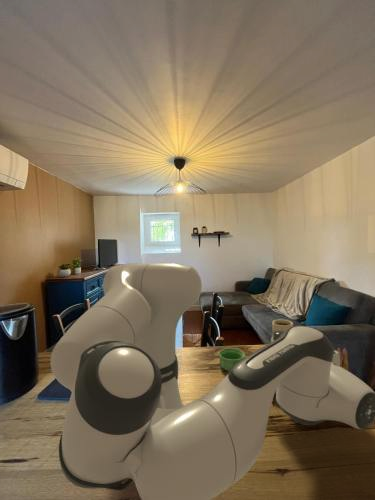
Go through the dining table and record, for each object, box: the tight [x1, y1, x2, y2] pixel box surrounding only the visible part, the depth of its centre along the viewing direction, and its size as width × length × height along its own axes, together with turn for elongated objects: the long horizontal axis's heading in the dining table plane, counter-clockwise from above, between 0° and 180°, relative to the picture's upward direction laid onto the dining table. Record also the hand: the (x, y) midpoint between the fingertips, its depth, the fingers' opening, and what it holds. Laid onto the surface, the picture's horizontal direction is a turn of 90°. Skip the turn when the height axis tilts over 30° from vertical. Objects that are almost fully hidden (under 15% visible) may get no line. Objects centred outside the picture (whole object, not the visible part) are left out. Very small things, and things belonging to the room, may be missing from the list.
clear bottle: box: [270, 331, 283, 343], centre depth 76 cm, size 5×5×11 cm
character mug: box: [271, 318, 294, 337], centre depth 93 cm, size 11×7×13 cm, turn 2°
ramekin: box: [218, 347, 246, 372], centre depth 89 cm, size 9×9×4 cm
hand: (278, 345), depth 76 cm, fingers closed on clear bottle, 5 cm apart
